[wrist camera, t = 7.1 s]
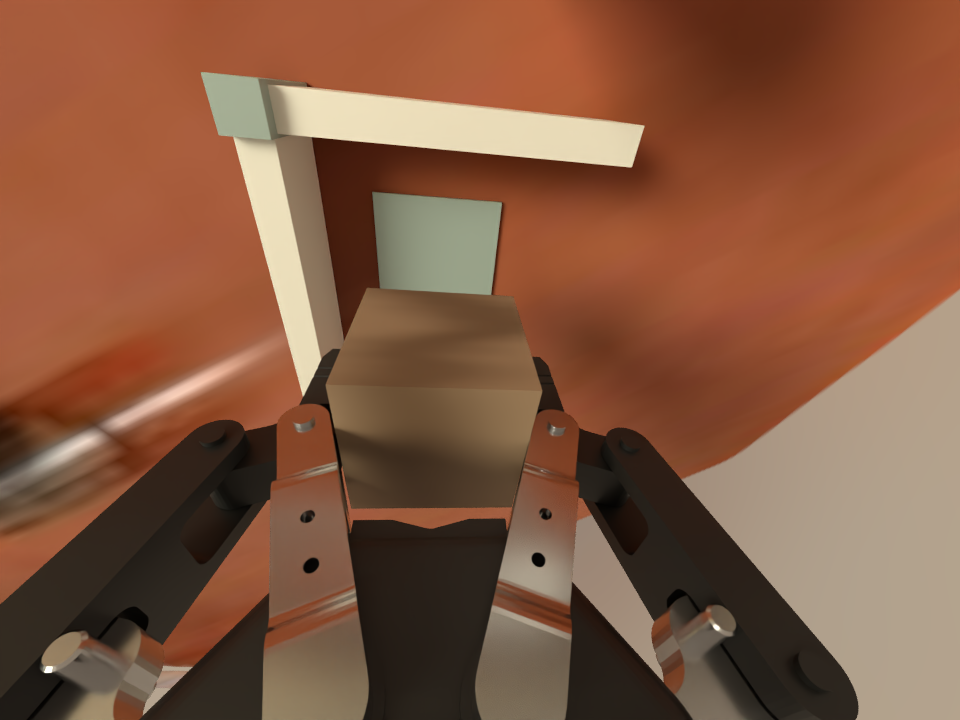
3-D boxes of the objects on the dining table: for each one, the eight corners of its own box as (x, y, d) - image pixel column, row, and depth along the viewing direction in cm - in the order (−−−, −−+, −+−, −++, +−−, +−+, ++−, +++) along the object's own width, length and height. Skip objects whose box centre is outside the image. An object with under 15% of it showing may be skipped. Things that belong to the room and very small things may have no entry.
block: (513, 296, 13) (542, 391, 9) (495, 400, 16) (511, 507, 12) (367, 287, 12) (325, 384, 8) (377, 397, 15) (351, 508, 11)
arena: (530, 420, 31) (543, 471, 26) (335, 418, 29) (316, 472, 25) (605, 116, 18) (653, 122, 14) (264, 77, 16) (200, 71, 12)
